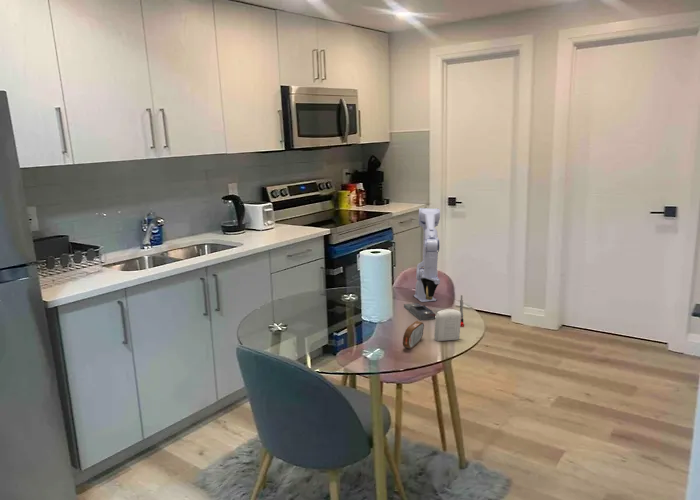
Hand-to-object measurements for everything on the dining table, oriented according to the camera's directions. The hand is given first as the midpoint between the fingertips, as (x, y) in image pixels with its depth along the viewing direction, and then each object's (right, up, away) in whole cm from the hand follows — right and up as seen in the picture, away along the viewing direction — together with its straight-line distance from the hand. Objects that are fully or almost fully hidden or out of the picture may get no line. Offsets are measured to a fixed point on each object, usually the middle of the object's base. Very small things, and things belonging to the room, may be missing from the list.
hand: (429, 295), depth 239 cm
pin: (0, -2, 0) cm, 2 cm away
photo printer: (+3, -15, -26) cm, 30 cm away
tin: (-11, -17, -31) cm, 37 cm away
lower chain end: (-5, -7, +5) cm, 10 cm away
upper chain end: (-3, -9, -1) cm, 9 cm away
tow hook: (+8, -12, -10) cm, 17 cm away
